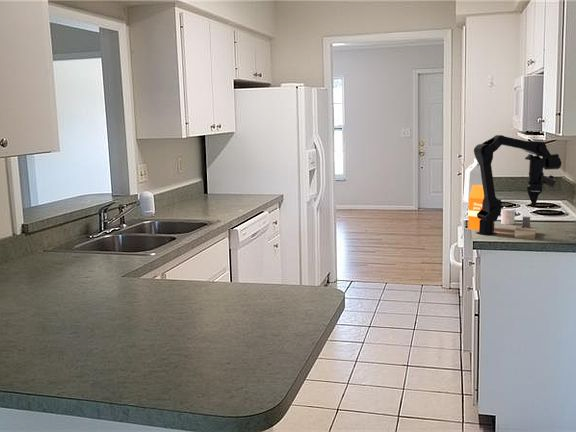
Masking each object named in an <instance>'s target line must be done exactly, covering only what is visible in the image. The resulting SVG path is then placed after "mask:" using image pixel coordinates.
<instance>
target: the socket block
mask: <svg viewBox="0 0 576 432" xmlns="http://www.w3.org/2000/svg"><path fill="white" fill-rule="evenodd" d="M536 233H537V226H536V225H530V228H522V224H520V225H519V224H517V225H516V226H515V230H514V239H523V240H524V239H525V240H536V239H535V238H536Z"/></svg>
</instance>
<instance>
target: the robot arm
mask: <svg viewBox="0 0 576 432" xmlns="http://www.w3.org/2000/svg"><path fill="white" fill-rule="evenodd" d="M501 146H505V147H510V148H515V149H519V150H520V149H521V150H522V151H524V152H526V153H529V154H528V155H527V156H525V158H524V160H527V161H529V166H528V167H529V168H528V169H529V170H528V185H527V186H526V191H527V194H528V197H529V199H530V202H531V205H532V207H536V205H537V201H538V198H539V195H540V194H541V193H543V188H544V185H547V186H549V187H551V188H555V185H556V184H557V183H556V182H557V179H555V177H554V175H551V174H549V176H547V175H544V174H545V173H544V170H549V171H550V170H559V169H560V168H561V166H562V160H561V158H560V155H559V154H558V153H553V154H551V153H550V150H549V149H548V148H547V144H546V142H544V141H541V140H540V141H536V140H523V139H520V138H519V139H518V138H514V137H509V136H504V135H502V134H497V135H494V136H493V137H492V138H490V139H488V140H486V141H484V142H482V143H479V144H477V145H475V147H474V149H473V154H474V156H475V159H476V160H477V161H478V163H479V165H480V170H481V178H482V185H483V192H484V199H483V202H482V209H481V210H480V211H479V212H478V213H477V217H478V219H480V224H479V230H478V231H476V232H475V234H480V235H484V236H490V235H491V236H492V235H496V234H498V233H497V232H496V231H495V222H497V220H498V218H499V216H501V209H504V208H503V206H502V199H501V198H497V196H496V191H495V184H494V176H493V170H492V168H493V167H492V162H493V160H494V159H493V158H494V153H495V152H496V151H497V150H498V149H500V147H501Z"/></svg>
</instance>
